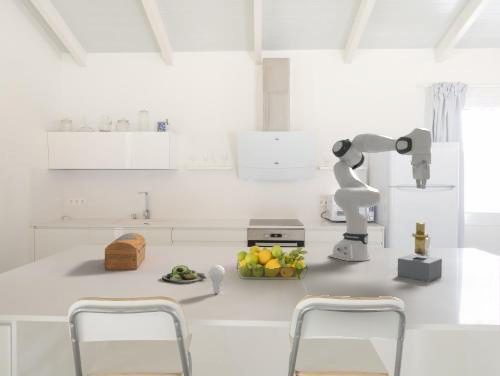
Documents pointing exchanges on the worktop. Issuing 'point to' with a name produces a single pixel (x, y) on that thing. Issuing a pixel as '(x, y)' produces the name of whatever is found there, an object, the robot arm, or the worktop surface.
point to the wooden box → (125, 252)
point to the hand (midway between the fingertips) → (420, 188)
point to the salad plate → (183, 275)
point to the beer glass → (427, 247)
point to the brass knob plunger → (420, 238)
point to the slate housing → (419, 267)
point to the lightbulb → (216, 277)
